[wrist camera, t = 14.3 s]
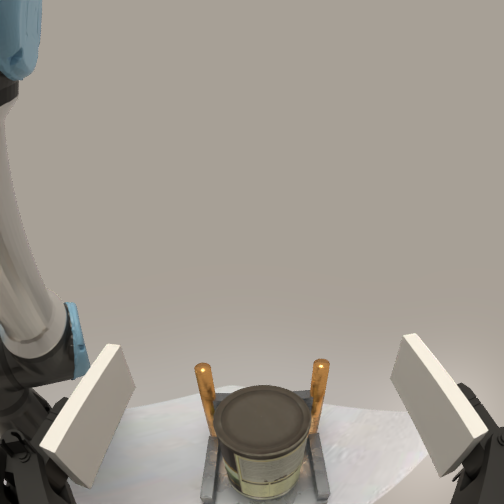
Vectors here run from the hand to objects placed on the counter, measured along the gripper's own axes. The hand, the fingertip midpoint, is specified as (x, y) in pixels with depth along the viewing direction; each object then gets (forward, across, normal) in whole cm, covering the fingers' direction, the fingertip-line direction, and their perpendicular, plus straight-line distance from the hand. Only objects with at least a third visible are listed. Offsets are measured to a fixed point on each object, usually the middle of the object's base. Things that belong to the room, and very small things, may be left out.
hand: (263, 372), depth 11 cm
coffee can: (+10, 0, -30) cm, 31 cm away
